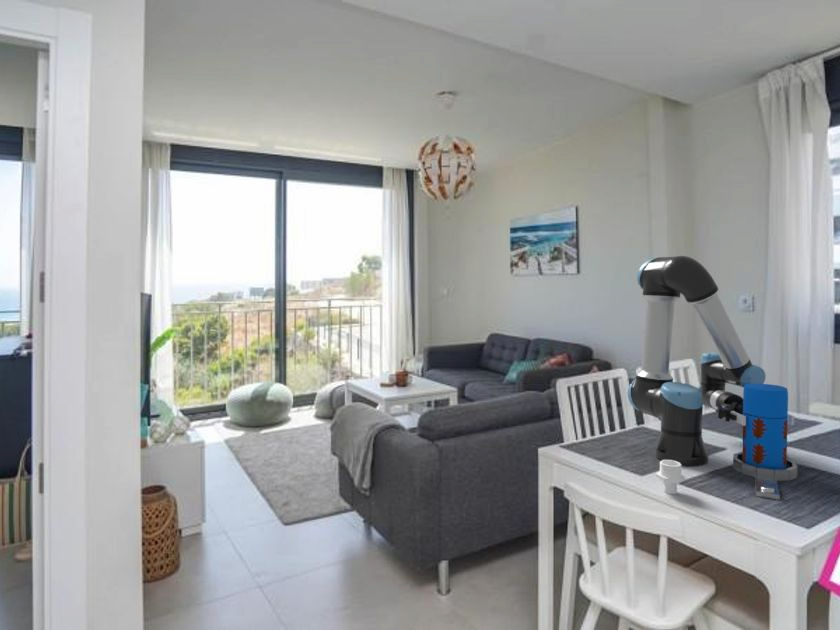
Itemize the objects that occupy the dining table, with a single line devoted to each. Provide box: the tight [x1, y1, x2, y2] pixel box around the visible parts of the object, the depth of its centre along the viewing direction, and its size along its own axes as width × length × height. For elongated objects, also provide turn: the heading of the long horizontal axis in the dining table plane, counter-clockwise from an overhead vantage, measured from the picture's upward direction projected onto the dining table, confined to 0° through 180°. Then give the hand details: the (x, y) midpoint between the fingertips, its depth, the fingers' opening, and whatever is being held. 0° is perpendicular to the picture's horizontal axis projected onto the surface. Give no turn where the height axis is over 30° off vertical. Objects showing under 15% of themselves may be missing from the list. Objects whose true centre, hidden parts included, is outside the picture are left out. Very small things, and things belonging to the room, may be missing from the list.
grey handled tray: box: [732, 451, 798, 501], centre depth 148 cm, size 16×41×3 cm, turn 148°
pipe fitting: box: [655, 460, 686, 495], centre depth 136 cm, size 6×7×8 cm
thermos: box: [741, 383, 789, 469], centre depth 149 cm, size 11×11×25 cm
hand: (768, 420), depth 147 cm, fingers open, 13 cm apart
